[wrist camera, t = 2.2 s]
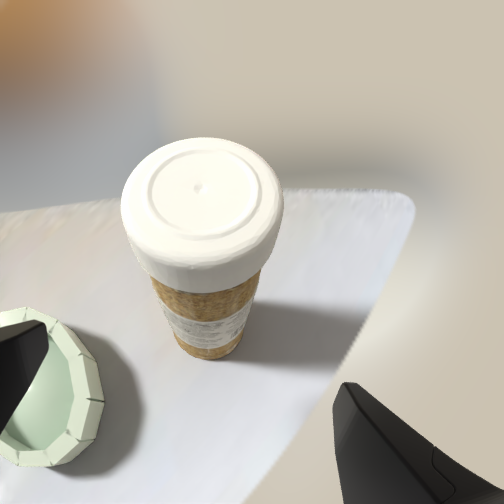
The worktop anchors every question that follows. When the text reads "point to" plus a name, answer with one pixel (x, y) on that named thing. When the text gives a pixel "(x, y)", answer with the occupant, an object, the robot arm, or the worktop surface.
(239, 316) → the sprinkles bottle
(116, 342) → the worktop surface
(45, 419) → the dish
